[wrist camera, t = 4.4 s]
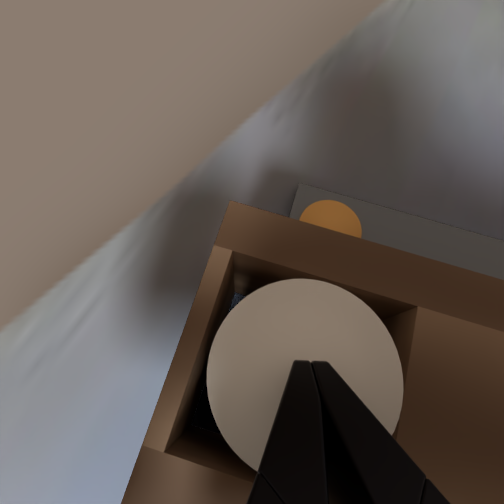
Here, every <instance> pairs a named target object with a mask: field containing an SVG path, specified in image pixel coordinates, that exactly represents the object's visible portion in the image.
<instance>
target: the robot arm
mask: <svg viewBox="0 0 504 504" xmlns="http://www.w3.org/2000/svg"><path fill="white" fill-rule="evenodd" d="M246 504H451V503H450V502H449V501H448V500H447V499H446V498H445V497H444V495H443V494H442V493H441V492H440V491H439V490H438V489H437V487H436V486H435V485H434V484H433V483H432V482H431V480H430V479H426V475H425V474H424V472H423V471H422V470H421V469H420V468H419V467H418V466H417V464H416V463H415V462H414V461H413V460H412V459H411V457H410V456H409V455H408V454H407V453H406V452H405V450H404V449H403V448H402V447H401V446H400V445H399V443H398V442H397V441H396V440H395V439H394V438H393V436H392V435H391V434H390V433H389V432H388V431H387V429H386V428H385V427H384V426H383V425H382V424H381V423H380V421H379V420H378V419H377V418H376V417H375V416H374V414H373V413H372V412H371V411H370V410H369V409H368V407H367V406H366V405H365V404H364V403H363V402H362V400H361V399H360V398H359V397H358V396H357V395H356V393H355V392H354V391H353V390H352V389H351V388H350V387H349V385H348V384H347V383H346V382H345V381H344V380H343V378H342V377H341V376H340V375H339V374H338V373H337V371H336V370H335V369H334V368H333V367H332V366H331V364H330V363H329V362H327V361H312V362H310V361H308V360H294V361H293V364H292V367H291V370H290V373H289V376H288V379H287V382H286V385H285V388H284V391H283V394H282V397H281V400H280V403H279V407H278V410H277V413H276V416H275V419H274V422H273V425H272V428H271V431H270V434H269V437H268V440H267V443H266V446H265V449H264V453H263V456H262V459H261V462H260V465H259V468H258V471H257V474H256V476H255V479H254V483H253V486H252V489H251V492H250V494H249V497H248V500H247V503H246Z"/></svg>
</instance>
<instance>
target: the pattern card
mask: <svg viewBox="0 0 504 504" xmlns="http://www.w3.org/2000/svg"><path fill="white" fill-rule="evenodd" d="M289 218H293V219H296V220H299V221H303V222H306V223H310V224H313V225H317V226H320V227H323V228H327V229H330V230H334V231H337V232H341V233H344V234H347V235H351V236H354V237H358V238H361V239H365V240H368V241H371V242H375V243H378V244H382V245H385V246H389V247H392V248H395V249H399V250H402V251H406V252H409V253H413V254H416V255H420V256H423V257H426V258H430V259H433V260H437V261H440V262H444V263H447V264H450V265H454V266H457V267H461V268H464V269H468V270H471V271H474V272H478V273H481V274H485V275H488V276H492V277H495V278H498V279H502V280H504V241H502V240H499V239H495V238H492V237H488V236H485V235H481V234H478V233H474V232H471V231H467V230H464V229H460V228H457V227H453V226H450V225H446V224H443V223H439V222H436V221H432V220H429V219H425V218H422V217H418V216H415V215H411V214H408V213H404V212H401V211H397V210H394V209H390V208H387V207H383V206H380V205H376V204H373V203H369V202H366V201H362V200H359V199H355V198H352V197H348V196H344V195H341V194H337V193H334V192H330V191H327V190H323V189H320V188H316V187H313V186H309V185H306V184H302V183H299V185H298V189H297V192H296V195H295V199H294V202H293V205H292V209H291V212H290V215H289Z"/></svg>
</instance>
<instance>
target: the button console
mask: <svg viewBox="0 0 504 504" xmlns="http://www.w3.org/2000/svg"><path fill="white" fill-rule="evenodd" d="M289 279H313V280H319V281H323V282H327V283H330V284H333V285H336V286H338V287H341V288H343V289H345V290H346V291H348V292H350V293H352V294H353V295H355V296H356V297H358V298H359V299H361V300H362V301H363V302H364V303H365V304H366V305H368V306H369V307H370V308H371V309H372V310H373V311H374V313H375V314H376V315H377V316H378V317H379V318H380V320H381V321H382V323H383V324H384V325H385V327H386V328H387V330H388V332H389V334H390V335H391V337H392V339H393V342H394V344H395V346H396V349H397V351H398V355H399V359H400V362H401V367H402V374H403V401H402V408H401V412H400V416H399V420H398V422H397V425H396V428H395V431H394V433H393V434H392V436H393V438H394V439H395V440H396V441H397V442H398V443H399V445H400V446H401V447H402V448H403V449H404V450H405V452H406V453H407V454H408V455H409V456H410V457H411V459H412V460H413V461H414V462H415V463H416V464H417V466H418V467H419V468H420V469H421V470H422V471H423V472H424V474H425V475H426V479H430V480H431V482H432V483H433V484H434V485H435V486H436V487H437V489H438V490H439V491H440V492H441V493H442V494H443V495H444V497H445V498H446V499H447V500H448V501H449V502H450V503H451V504H504V280H502V279H498V278H495V277H492V276H488V275H485V274H481V273H478V272H474V271H471V270H468V269H464V268H461V267H457V266H454V265H450V264H447V263H444V262H440V261H437V260H433V259H430V258H426V257H423V256H420V255H416V254H413V253H409V252H406V251H402V250H399V249H395V248H392V247H389V246H385V245H382V244H378V243H375V242H371V241H368V240H365V239H361V238H358V237H354V236H351V235H347V234H344V233H341V232H337V231H334V230H330V229H327V228H323V227H320V226H317V225H313V224H310V223H306V222H303V221H299V220H296V219H293V218H289V217H286V216H282V215H279V214H275V213H272V212H269V211H265V210H262V209H258V208H255V207H251V206H248V205H245V204H241V203H238V202H234V201H231V200H230V202H229V204H228V207H227V210H226V213H225V215H224V218H223V221H222V224H221V227H220V229H219V232H218V235H217V238H216V241H215V243H214V246H213V249H212V252H211V254H210V257H209V260H208V263H207V266H206V268H205V271H204V274H203V277H202V279H201V282H200V285H199V288H198V291H197V293H196V296H195V299H194V302H193V305H192V307H191V310H190V313H189V316H188V318H187V321H186V324H185V327H184V330H183V332H182V335H181V338H180V341H179V343H178V346H177V349H176V352H175V355H174V357H173V360H172V363H171V366H170V369H169V371H168V374H167V377H166V380H165V382H164V385H163V388H162V391H161V394H160V396H159V399H158V402H157V405H156V407H155V410H154V413H153V416H152V419H151V421H150V424H149V427H148V430H147V433H146V435H145V438H144V441H143V444H142V446H141V449H140V452H139V455H138V458H137V460H136V463H135V466H134V469H133V472H132V474H131V477H130V480H129V483H128V485H127V488H126V491H125V494H124V497H123V499H122V502H121V504H246V503H247V500H248V497H249V494H250V492H251V489H252V486H253V483H254V479H255V476H256V474H257V471H256V470H254V469H253V468H251V467H250V466H249V465H248V464H246V463H245V462H244V461H243V460H242V459H241V458H240V457H239V456H238V455H237V454H236V453H235V452H234V451H233V450H232V448H231V447H230V446H229V444H228V443H227V442H226V440H225V439H224V437H223V435H221V434H218V433H215V432H212V431H209V430H206V429H203V428H200V427H197V426H194V425H192V422H193V419H194V416H195V413H196V410H197V407H198V403H199V400H200V397H201V394H202V391H203V388H204V385H205V382H206V379H207V366H208V358H209V354H210V350H211V346H212V343H213V341H214V338H215V336H216V333H217V331H218V329H219V328H220V326H221V324H222V322H223V321H224V319H225V318H226V317H227V315H228V311H229V308H230V305H231V302H232V299H233V296H234V293H235V292H236V293H239V294H242V295H245V296H248V295H249V294H251V293H252V292H254V291H256V290H257V289H259V288H262V287H264V286H266V285H268V284H271V283H275V282H278V281H282V280H289Z"/></svg>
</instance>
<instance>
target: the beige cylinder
mask: <svg viewBox="0 0 504 504" xmlns="http://www.w3.org/2000/svg"><path fill="white" fill-rule="evenodd" d="M294 360H308V361H310V362H312V361H327V362H329V363H330V364H331V366H332V367H333V368H334V369H335V370H336V371H337V373H338V374H339V375H340V376H341V377H342V378H343V380H344V381H345V382H346V383H347V384H348V385H349V387H350V388H351V389H352V390H353V391H354V392H355V393H356V395H357V396H358V397H359V398H360V399H361V400H362V402H363V403H364V404H365V405H366V406H367V407H368V409H369V410H370V411H371V412H372V413H373V414H374V416H375V417H376V418H377V419H378V420H379V421H380V423H381V424H382V425H383V426H384V427H385V428H386V429H387V431H388V432H389V433H390V434H391V435H392V434H393V433H394V431H395V428H396V425H397V422H398V420H399V416H400V412H401V408H402V401H403V374H402V367H401V362H400V359H399V355H398V351H397V349H396V346H395V344H394V342H393V339H392V337H391V335H390V334H389V332H388V330H387V328H386V327H385V325H384V324H383V323H382V321H381V320H380V318H379V317H378V316H377V315H376V314H375V313H374V311H373V310H372V309H371V308H370V307H369V306H368V305H366V304H365V303H364V302H363V301H362V300H361V299H359V298H358V297H356V296H355V295H353V294H352V293H350V292H348V291H346V290H345V289H343V288H341V287H338V286H336V285H333V284H330V283H327V282H323V281H319V280H313V279H289V280H282V281H278V282H275V283H271V284H268V285H266V286H264V287H262V288H259V289H257V290H256V291H254V292H252V293H251V294H249V295H248V296H246V297H245V298H244V299H243V300H241V301H240V302H239V303H238V304H237V305H236V306H235V307H234V308H233V309H232V310H231V311H230V313H229V314H228V315H227V317H226V318H225V319H224V321H223V322H222V324H221V326H220V328H219V329H218V331H217V333H216V336H215V338H214V341H213V343H212V346H211V350H210V354H209V358H208V366H207V391H208V399H209V403H210V407H211V411H212V414H213V416H214V419H215V421H216V424H217V426H218V428H219V430H220V432H221V434H222V435H223V437H224V439H225V440H226V442H227V443H228V444H229V446H230V447H231V448H232V450H233V451H234V452H235V453H236V454H237V455H238V456H239V457H240V458H241V459H242V460H243V461H244V462H245V463H246V464H248V465H249V466H250V467H251V468H253V469H254V470H256V471H258V468H259V465H260V462H261V459H262V456H263V453H264V449H265V446H266V443H267V440H268V437H269V434H270V431H271V428H272V425H273V422H274V419H275V416H276V413H277V410H278V407H279V403H280V400H281V397H282V394H283V391H284V388H285V385H286V382H287V379H288V376H289V373H290V370H291V367H292V364H293V361H294Z"/></svg>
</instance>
